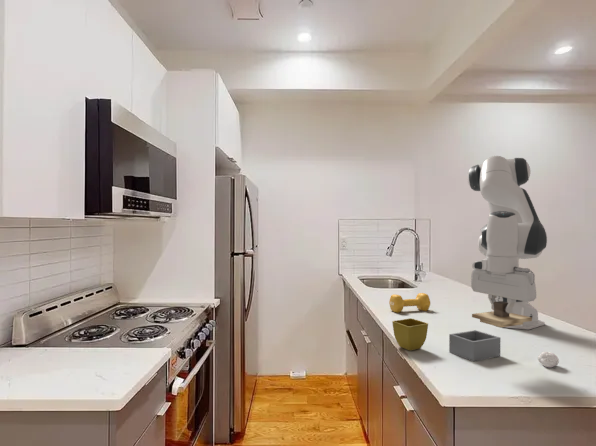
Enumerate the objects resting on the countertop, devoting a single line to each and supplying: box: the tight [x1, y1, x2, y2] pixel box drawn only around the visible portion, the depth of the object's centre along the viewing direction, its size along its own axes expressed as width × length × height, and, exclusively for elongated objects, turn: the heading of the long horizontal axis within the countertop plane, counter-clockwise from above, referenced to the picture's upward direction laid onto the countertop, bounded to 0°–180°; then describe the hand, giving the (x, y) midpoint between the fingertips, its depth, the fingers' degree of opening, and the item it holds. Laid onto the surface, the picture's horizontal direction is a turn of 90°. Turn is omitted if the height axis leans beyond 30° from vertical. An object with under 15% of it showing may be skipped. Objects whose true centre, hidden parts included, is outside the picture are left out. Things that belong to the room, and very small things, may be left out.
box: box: [448, 329, 501, 362], centre depth 138 cm, size 12×10×6 cm
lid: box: [471, 301, 532, 328], centre depth 126 cm, size 13×11×6 cm
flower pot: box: [391, 318, 429, 352], centre depth 145 cm, size 9×9×9 cm
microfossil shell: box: [537, 351, 560, 368], centre depth 128 cm, size 4×5×6 cm
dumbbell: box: [389, 292, 431, 314], centre depth 203 cm, size 19×9×8 cm, turn 105°
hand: (501, 311), depth 126 cm, fingers closed on lid, 3 cm apart
